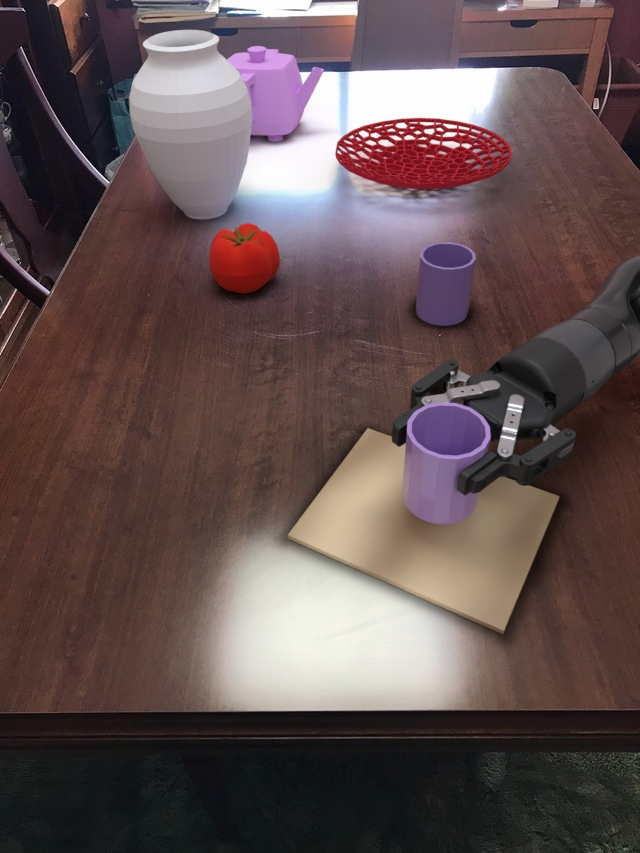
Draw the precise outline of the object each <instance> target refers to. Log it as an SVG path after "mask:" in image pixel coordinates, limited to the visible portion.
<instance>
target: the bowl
mask: <svg viewBox="0 0 640 853" xmlns="http://www.w3.org/2000/svg"><path fill="white" fill-rule="evenodd" d="M423 123H432V124H428V125H426V124H423ZM397 124H405V125H406V127H398V126H397ZM446 125H449V126H456V127H447V126H446ZM460 127H462V128H460ZM464 128H466V129H464ZM438 129H441V130H442V131H441V130H438ZM425 130H433V133H426V132H425ZM473 130H474V131H473ZM476 131H477V132H476ZM360 132H365V133H367V135H366V136H365V137H364V136H363V135H362V134H361V133H360ZM416 132H419V133H416ZM479 132H480V133H479ZM447 133H456V134H455V135H453V136H444V135H445V134H447ZM373 134H377V135H379V136H378V137H374V136H372V135H373ZM484 134H485V135H484ZM486 135H487V136H486ZM407 136H409V137H410V136H411V137H412V139H411V138H410V139H409V138H408V139H406V138H405V137H407ZM488 136H489V137H488ZM351 137H352V138H351ZM393 137H397V138H399V139H395V138H393ZM357 138H358V139H359V140H358V139H357ZM423 138H425V139H423ZM493 139H495V140H497V141H494V140H493ZM369 141H371V142H373V143H375V144H370V143H367V142H369ZM380 141H387V142H389V143H391V145H388V146H385V145H383V144H380ZM431 141H435V142H439V143H432V142H431ZM445 142H447V143H448V142H454V143H456V144H459V145H458V146H456V147H450V146H447V145H444V144H443V143H445ZM463 145H469V146H470V147H466V146H463ZM500 145H502V146H500ZM342 149H343V150H342ZM351 149H352V150H351ZM369 150H370V151H369ZM475 150H480V151H477V152H474V151H475ZM360 152H362V153H363V154H364V155H366V156H367V158H366V157H363V156H361V155H360V154H359V153H360ZM440 152H442V153H440ZM443 153H445V154H443ZM494 153H500V154H499V155H496V156H493V155H491V154H494ZM334 154H335V159H336V160H337V162H338V163H339V165H340V166H342V168H344V169H345V170H346V171H348V172H349V173H350V174H351V173H352V174H353V175H355V176H358V177H360V178H362V179H365V180H369V181H372V182H375V183H377V184H380V185H381V184H382V185H386V186H390V187H395V188H399V189H400V188H402V189H408V190H409V189H410V190H437V189H438V190H440V189H448V188H455V187H460V186H465V185H469V184H473V183H477V182H480V181H483V180H487V179H489V178H491V177H494V176H495V175H496V174H499V173H500V172H502V171H503V170H504V169H505V168H506V167H508V165H509V164H510V163H511V160H512V155H513V154H512V147H511V146H510V144H509V143H508V142H507V141H506V140H505V138H503V137H501V136H500V135H499V134H497V133H496V132H494V131H492V130H489V129H487V128H485V127H482V126H479V125H475V124H473V123H468V122H464V121H459V120H451V119H445V118H437V117H435V118H433V117H410V118H409V117H408V118H407V117H406V118H396V119H390V120H382V121H378V122H374V123H369V124H365V125H362V126H360V127H357V128H355V129H352V130H350V131H349V132H347V133H346V134H344V135H343V136H341V138H340V139H339V140H338V141H336V148H335V153H334ZM505 154H508V155H505ZM485 155H486V156H485ZM504 155H505V156H504ZM352 156H354V157H355V158H353V157H352ZM481 156H483V157H481ZM472 160H474V161H472ZM469 161H472V162H469ZM477 166H481V167H480V168H479V167H478V168H475V167H477Z"/></svg>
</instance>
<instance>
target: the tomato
mask: <svg viewBox="0 0 640 853" xmlns="http://www.w3.org/2000/svg"><path fill="white" fill-rule="evenodd" d="M234 229H235V230H230V229H228V228H222V229H219V230H218V232H217V233H215V235H214V237H213V238H212V240H211V243H210V250H209V256H208V265H209V266H208V267H209V270H210V274H211V275H212V277H213V279H214V280H215V282H216V283H217V285H218V286H220V287H221V288H223V289H224V290H226V291H228V292H234V293H237V294H242V295H245V294H250V293H255V292H256V291H258V290H260V289H262V287H264V286H265V285H266V284H267V283H268V282H270V280H272V279H273V278H274V277H276V275H277V273H278V270H279V268H280V265H281V264H280V262H281V261H280V260H281V257H280V251H279V248H278V245H277V242H276V240H275V239H274V237H273V236H272V235H271V234H270V233H269V232H268V231H266V230H262V228H259V226H258V225H257V224H254V223H250V222H247V223H243V224H240V225H239V226H238V227H234Z"/></svg>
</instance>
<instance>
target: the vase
mask: <svg viewBox="0 0 640 853" xmlns="http://www.w3.org/2000/svg"><path fill="white" fill-rule="evenodd" d="M219 42H220V37H219V36H218V35H216V34H215V33H212V32H209V31H205V30H201V29H178V30H170V31H164V32H159V33H157V34H154V35H152V36H150V37H148V38H147V39H145V40H144V41H143V42H142V46H143V48H144V49H145V51H146V52H147V59H146V60H145V61H144V63H143V64H142V65H141V67H140V69H139V70H138V72H137V73H136V75H135V77H134V78H133V80H132V83H131V88H130V93H129V98H128V102H129V104H128V105H129V115H130V121H131V126H132V131H133V133H134V135H135V137H136V140H137V143H138V145H139V147H140V149H141V152H142V153H143V156H144V158H145V161H146V163H147V165H148V167H149V169H150V171H151V173H152V174H153V176H154V177H155V179H156V180H157V182H158V183H159V185H160V186H161V188H162V189H163V191H164V192H165V193H166V195H167V196H168V198H169V199H170V200H171V201H172V203H173V204H174V205H175V206H176V207H177V208H178V209H179V210H181V211H182V212H183V214H184V215H185V216H186V217H188V218H190V219H193V220H209V219H210V220H211V219H215V218H218V217H221V216H222V215H224V214H225V213H226V212H228V209H229V206H230V205H232V202H233V201H234V198H235V196H236V194H237V192H238V189H239V187H240V184H241V181H242V178H243V175H244V173H245V168H246V165H247V163H248V157H249V150H250V142H251V136H252V135H251V127H252V108H251V100H250V97H249V93H248V89H247V87H246V85H245V83H244V81H243V79H242V77H241V75H240V73H239V72H238V70H237V69H236V68H234V67H233V66H232V65H231V64H230V63H229V62H228V61H227V59H226V57H224V56H223V55H222V54H221V53H220V52H219V51H218V45H219Z"/></svg>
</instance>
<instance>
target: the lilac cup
mask: <svg viewBox="0 0 640 853" xmlns="http://www.w3.org/2000/svg"><path fill="white" fill-rule="evenodd" d="M476 260H477V257H476V252H475V251H474V250H473V249H472V248H470V247H468V246H466V245H465V244H461V243H457V242H452V241H451V242H449V241H440V242H434V243H431V244H428V245H426V246H424V247H423V248H422V249H421V250H420V252H419V262H418V263H419V264H418V273H417V274H418V276H417V289H416V300H415V301H416V302H415V313H416V315H417V317H418V318H419V319H420V320H422V321H423V322H425V323H428V324H430V325H434V326H441V327H442V326H443V327H446V326H447V327H448V326H453V325H454V326H455V325H457V324H459V323H462V322H464V321H465V320H466V318H467V317H468V315H469V314H468V313H469V311H470V310H469V309H470V303H471V296H472V288H473V281H474V274H475V267H476Z"/></svg>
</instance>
